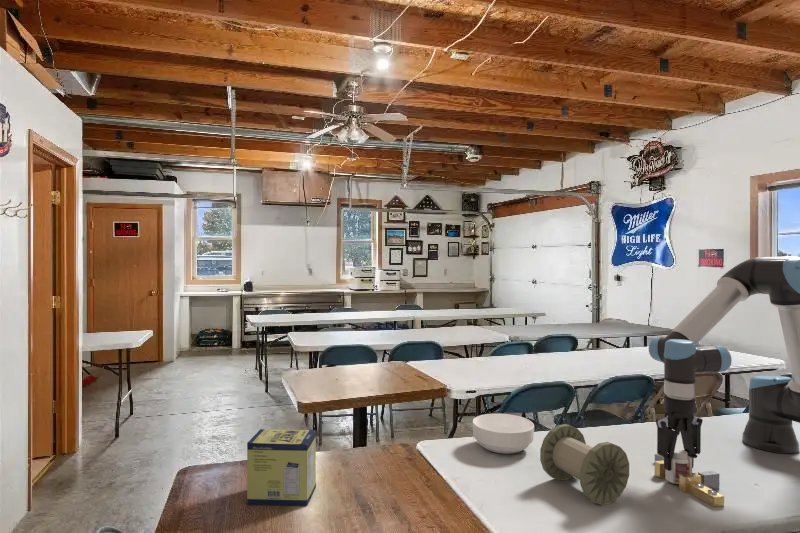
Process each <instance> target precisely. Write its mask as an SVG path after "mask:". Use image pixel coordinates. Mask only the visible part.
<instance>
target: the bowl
mask: <svg viewBox="0 0 800 533" xmlns="http://www.w3.org/2000/svg"><path fill="white" fill-rule="evenodd" d="M472 435H473V438H474V439H475V440H476V441H477V443H478V444H479V445H481V447H483V448H484V449H486V450H488V451H490V452H494V453H497V454H504V455H505V454H506V455H508V454H509V455H511V454H518V453H520V452H522V451H524V450H525V449H527V448H528V447H529V446H530V444H532V443H533V442H534V438H535V424H534V423H533V422H532V421H531V420H530V419H528V418H526V417H523V416H519V415H515V414H508V413H486V414H485V413H484V414H480V415H477V416H476V417H474V418H473V419H472Z"/></svg>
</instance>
